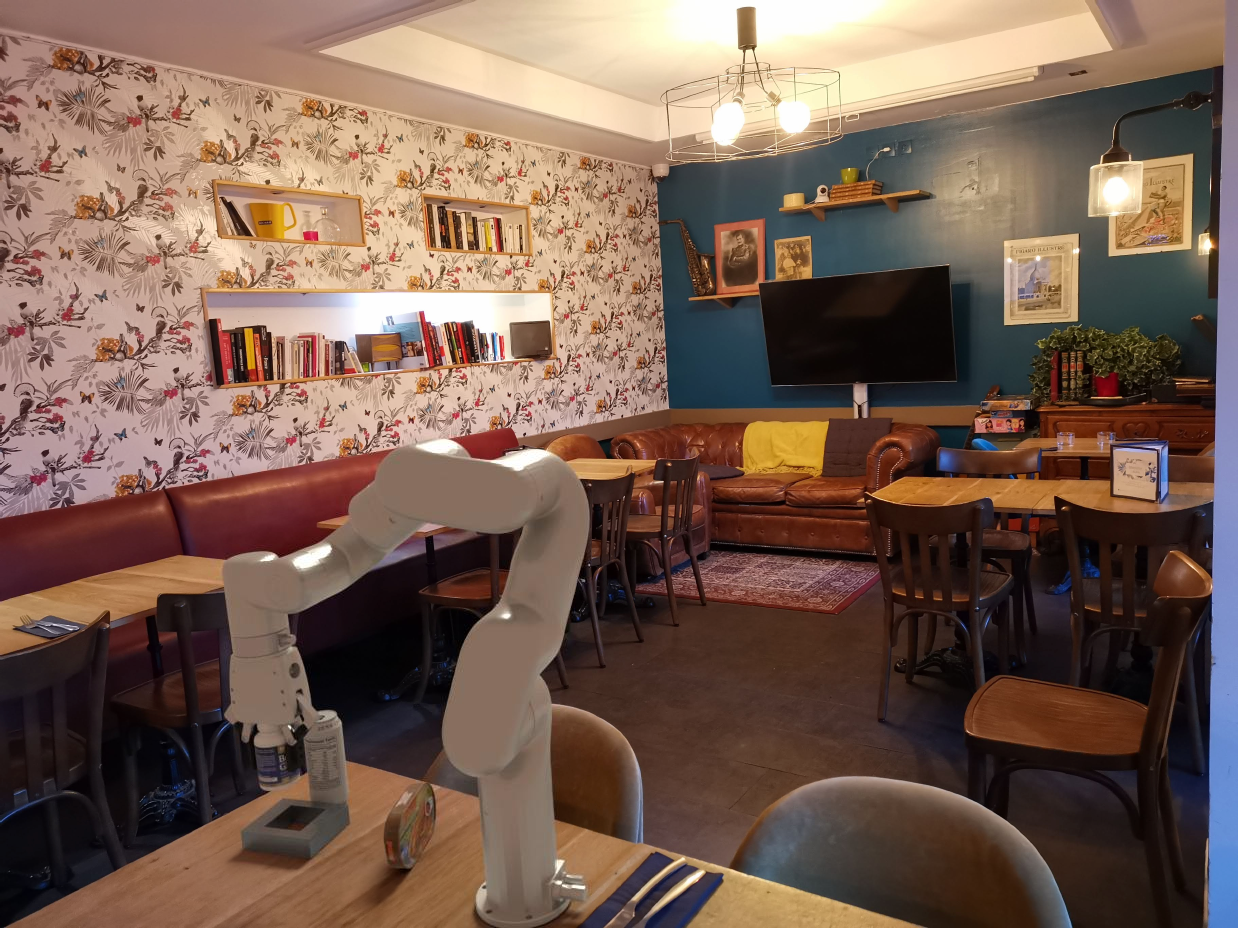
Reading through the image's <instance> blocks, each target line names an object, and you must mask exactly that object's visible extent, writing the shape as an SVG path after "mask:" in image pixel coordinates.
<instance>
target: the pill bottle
mask: <svg viewBox="0 0 1238 928" xmlns="http://www.w3.org/2000/svg"><path fill="white" fill-rule="evenodd" d="M257 728H258V730H259V731H260V732H259V733H257V735H256V736H255V738H254V747H255V754H256V762H257V769H256V770H257V775H258V783H259V786H260V788H261V789H262V790H263V791H270V792H274V791H281V790H284V789H287V788H290V787H292V786H294V785H295V784H296V783H298V781H299V780H300V778H301V772H300V768H299V769H297V770H296V771H295V772H293V773H290V772H288V770H287V763H286V756H285V745H287V744H288V742H287V740H286V738H285V735H284V733H283V730H282V728H281V726H280V725H269V724H257ZM292 729H293V731H294V732H295V729H294V727H292Z"/></svg>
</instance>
